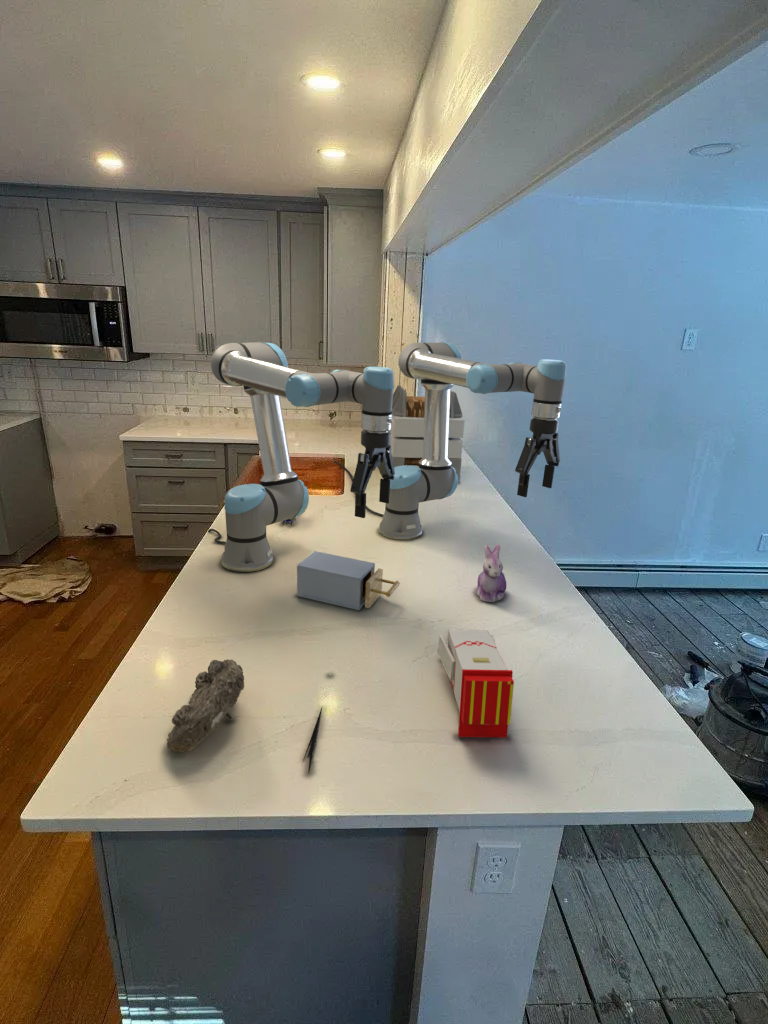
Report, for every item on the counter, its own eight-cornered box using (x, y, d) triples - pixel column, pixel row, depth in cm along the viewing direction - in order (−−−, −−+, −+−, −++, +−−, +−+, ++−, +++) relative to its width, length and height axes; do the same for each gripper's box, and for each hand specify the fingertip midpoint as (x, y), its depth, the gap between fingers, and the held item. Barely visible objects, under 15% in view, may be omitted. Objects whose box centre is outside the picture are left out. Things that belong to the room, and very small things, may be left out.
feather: (331, 679, 122) (336, 673, 122) (307, 777, 96) (313, 769, 95) (324, 675, 122) (329, 669, 121) (298, 772, 95) (304, 764, 95)
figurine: (488, 606, 153) (494, 555, 148) (466, 590, 161) (471, 541, 156) (515, 600, 157) (522, 550, 152) (493, 584, 166) (498, 536, 160)
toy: (488, 613, 130) (523, 677, 101) (484, 667, 133) (517, 744, 104) (435, 612, 130) (455, 676, 101) (432, 666, 133) (451, 743, 103)
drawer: (400, 597, 154) (401, 572, 152) (388, 612, 146) (389, 587, 144) (325, 580, 161) (326, 557, 159) (310, 594, 153) (310, 570, 151)
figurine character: (296, 530, 202) (301, 512, 215) (295, 511, 198) (300, 494, 212) (277, 530, 201) (283, 511, 215) (276, 511, 198) (282, 493, 211)
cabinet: (373, 593, 158) (374, 563, 154) (359, 610, 148) (360, 578, 145) (314, 580, 163) (314, 550, 160) (297, 596, 154) (296, 565, 151)
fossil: (192, 660, 117) (244, 628, 112) (224, 691, 120) (276, 661, 115) (142, 746, 98) (202, 712, 93) (182, 779, 101) (242, 748, 96)
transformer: (382, 463, 289) (386, 382, 275) (445, 464, 293) (451, 384, 279) (390, 482, 257) (394, 392, 243) (460, 483, 261) (468, 394, 247)
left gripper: (365, 441, 131) (362, 526, 138) (410, 424, 152) (405, 499, 159) (337, 436, 134) (335, 520, 141) (385, 420, 155) (381, 494, 162)
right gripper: (533, 425, 145) (522, 503, 152) (579, 415, 162) (567, 486, 169) (508, 420, 150) (499, 496, 157) (555, 411, 167) (545, 480, 174)
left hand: (372, 509), depth 150 cm, fingers open, 13 cm apart
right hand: (534, 491), depth 163 cm, fingers open, 13 cm apart
